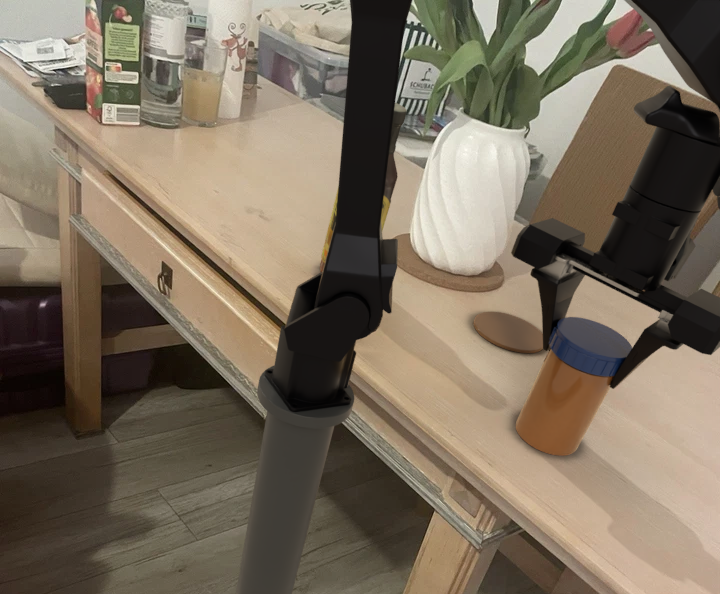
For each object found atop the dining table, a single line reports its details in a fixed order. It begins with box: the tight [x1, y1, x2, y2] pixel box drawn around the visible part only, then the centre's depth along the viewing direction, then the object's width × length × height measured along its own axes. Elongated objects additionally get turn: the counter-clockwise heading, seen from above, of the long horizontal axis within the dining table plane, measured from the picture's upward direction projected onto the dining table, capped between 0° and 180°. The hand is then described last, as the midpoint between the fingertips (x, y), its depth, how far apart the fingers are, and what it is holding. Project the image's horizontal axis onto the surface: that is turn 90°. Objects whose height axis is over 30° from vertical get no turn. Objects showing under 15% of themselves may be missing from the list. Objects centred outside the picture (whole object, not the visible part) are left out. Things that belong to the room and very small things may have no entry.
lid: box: [549, 316, 633, 377], centre depth 62 cm, size 7×7×2 cm
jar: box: [515, 348, 614, 456], centre depth 65 cm, size 6×6×11 cm
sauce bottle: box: [319, 102, 408, 273], centre depth 79 cm, size 7×6×20 cm
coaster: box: [473, 311, 543, 354], centre depth 84 cm, size 9×9×1 cm
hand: (579, 367), depth 64 cm, fingers closed on lid, 7 cm apart
